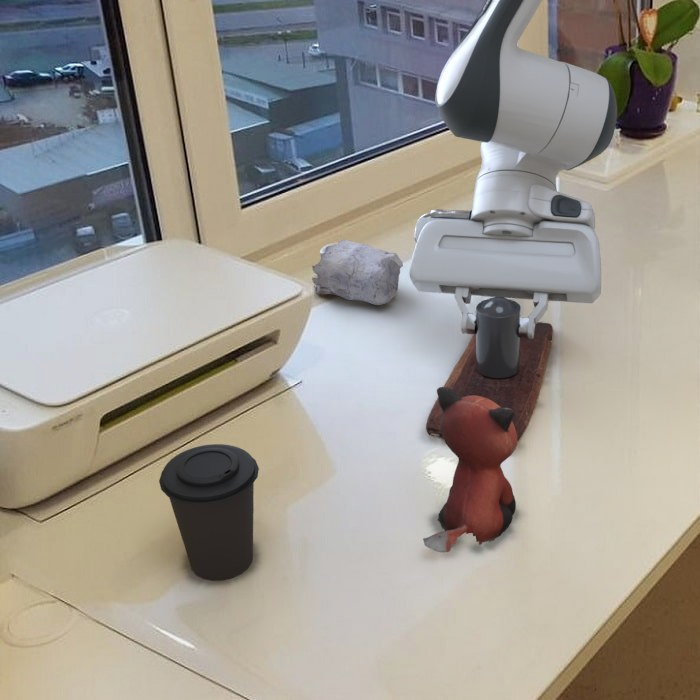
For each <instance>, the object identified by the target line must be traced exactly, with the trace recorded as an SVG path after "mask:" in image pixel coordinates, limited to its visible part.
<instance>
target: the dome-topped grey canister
mask: <svg viewBox="0 0 700 700" xmlns="http://www.w3.org/2000/svg"><path fill="white" fill-rule="evenodd" d="M521 309H522V307H521V305H520V304H519V303H518V302H517V301H515V300H514V299H513V300H512V299H510V298H504V297H490V298H488V299H484V300H482V301H480V302H479V303H477V304H476V307H475V314H476V369H477V371H478V372H479V373H480V374H482V375H483V376H486V377H490V378H507V377H510V376H513V375H515V374H516V373H517V372H518V371H519V369H520V338H519V335H518V331H519V327H520V324H519V322H520V318H522V317H521V316H522V315H521V313H522V312H521Z"/></svg>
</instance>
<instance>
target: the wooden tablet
mask: <svg viewBox="0 0 700 700" xmlns="http://www.w3.org/2000/svg"><path fill="white" fill-rule="evenodd" d="M553 336H554V327H553V325H552V323H549V322H543V321H542V322H540V321H538V323H537V324H535V330H534V338H533V339H528V338H520V369H519V371H518V372H517V373H516V374H515V375H513V376H510V377H507V378H490V377H486V376H483V375H482V374H480V373H479V372H478V371H477V369H476V334H472V337H470V340H469V342H468V343H467V345H466V347H465V349H464V351H463V352H462V354H461V356H460V358H459V360H458V361H457V363H456V364H455V366H454V368H453V369H452V371H451V373H450V375H449V376H448V378H447V380H446V381H445V383H444V385H443V387H448V388H450V389H452V390H454V391H455V392H456V393H457V394H458V395H459V396H460V397H462V398H463V397H466V396H472V395H476V396H481V397H484V398H487V399H489V400H491V401H493V402H494V403H496V404H497V405H499V406H500V407H501V408H509V409H512V410H514V411H515V414H514V417H513V419H512V422H513V424H514V427H515V430H516V434H517V443H519V442H520V440H521V439H522V437H523V435H524V434H525V432H526V430H527V428H528V426H529V424H530V421H531V419H532V416H533V415H534V413H535V409H536V406H537V403H538V400H539V398H540V397H539V396H540V394H541V390H542V387H543V382H544V378H545V374H546V370H547V366H548V362H549V357H550V354H551V353H550V352H551V349H552V345H553V343H552V342H553ZM442 417H443V410H442V408H441V407H440V405H439V400H438V397H437V398H436V400H435V402H434V404H433V406H432V408H431V409H430V412H429V414H428V417H427V420H426V424H425V430H426V434H427V435H428V436H430V437H434V438H438V439H444V438H443V436H442V434H441V431H440V425H441V421H442Z"/></svg>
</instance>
